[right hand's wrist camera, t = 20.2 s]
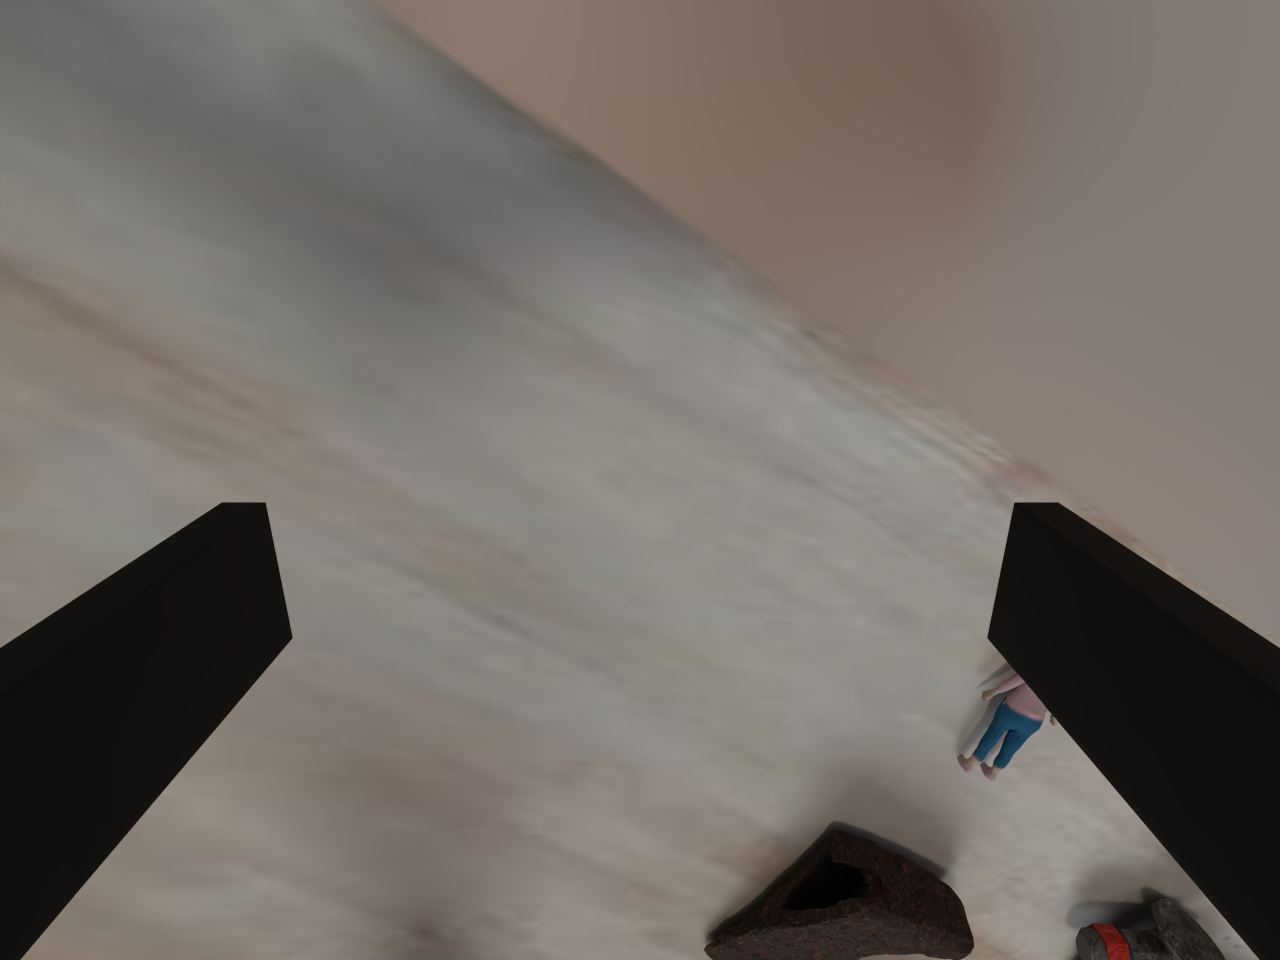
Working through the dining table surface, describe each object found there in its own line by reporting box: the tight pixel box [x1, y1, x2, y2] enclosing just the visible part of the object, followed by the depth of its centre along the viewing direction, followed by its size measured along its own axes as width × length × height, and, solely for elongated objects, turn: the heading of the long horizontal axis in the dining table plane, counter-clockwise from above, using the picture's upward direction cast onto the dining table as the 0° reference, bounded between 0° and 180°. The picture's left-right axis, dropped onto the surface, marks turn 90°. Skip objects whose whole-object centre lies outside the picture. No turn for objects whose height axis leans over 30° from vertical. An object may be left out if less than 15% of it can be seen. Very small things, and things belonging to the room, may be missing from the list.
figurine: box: [957, 674, 1058, 781], centre depth 48 cm, size 6×4×15 cm
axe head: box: [704, 830, 974, 960], centre depth 56 cm, size 18×8×15 cm
